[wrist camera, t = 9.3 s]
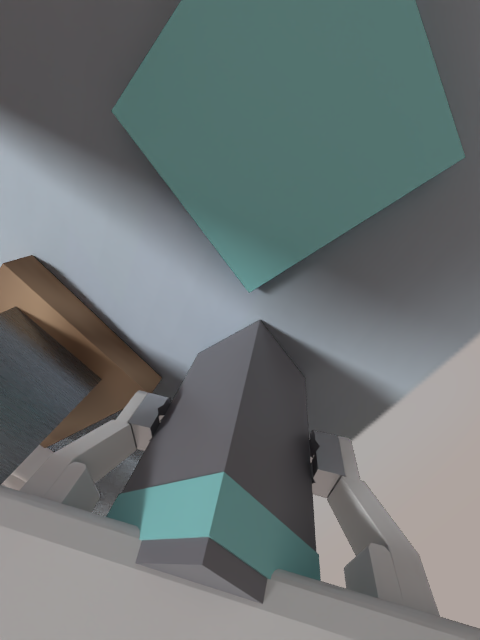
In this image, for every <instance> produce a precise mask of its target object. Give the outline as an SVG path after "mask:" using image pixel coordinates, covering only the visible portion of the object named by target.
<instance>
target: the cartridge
mask: <svg viewBox="0 0 480 640" xmlns="http://www.w3.org/2000/svg"><path fill="white" fill-rule="evenodd" d="M106 517H108V518H112V519H115V520H118V521H122V522H125V523H128V524H132V525H135V526H137V527H138V528H139V530H140V537H139V539H140V540H142V542H141V545H140V548H139V552H138V555H137V559H136V562H135V563H136V564H139V565H142V566H145V567H148V568H152V569H155V570H158V571H161V572H164V573H167V574H170V575H173V576H177V577H180V578H183V579H186V580H189V581H192V582H195V583H198V584H201V585H205V586H208V587H211V588H214V589H217V590H220V591H223V592H226V593H230V594H233V595H236V596H239V597H242V598H245V599H248V600H251V601H254V602H258V603H261V604H263V601H264V595H265V589H266V584H267V579H271V576H272V574H273V572H274V571H275V570H276V569H282V570H285V571H289V572H292V573H295V574H299V575H302V576H305V577H309V578H312V579H315V580H319V581H320V566H319V554H317V553H316V541H315V526H314V510H313V494H312V478H311V462H310V446H309V430H308V415H307V399H306V383H305V377H304V376H303V375H302V374H301V372H300V371H299V370H298V368H297V367H296V366H295V364H294V363H293V362H292V361H291V359H290V358H289V357H288V355H287V354H286V353H285V352H284V350H283V349H282V348H281V346H280V345H279V344H278V342H277V341H276V340H275V339H274V337H273V336H272V335H271V333H270V332H269V331H268V330H267V328H266V327H265V326H264V324H263V323H262V322H261V320H259V321H257V322H255V323H253V324H251V325H249V326H248V327H246V328H244V329H242V330H240V331H238V332H237V333H235V334H233V335H231V336H229V337H227V338H226V339H224V340H222V341H220V342H218V343H216V344H215V345H213V346H211V347H209V348H207V349H205V350H204V351H202V352H200V353H198V355H197V357H196V358H195V360H194V362H193V364H192V366H191V368H190V369H189V371H188V373H187V375H186V377H185V378H184V380H183V382H182V384H181V386H180V388H179V389H178V391H177V393H176V395H175V397H174V399H173V400H172V402H171V404H170V406H169V408H168V410H167V412H166V414H165V415H164V417H163V419H162V420H161V422H160V425H159V426H158V428H157V430H156V432H155V434H154V435H153V437H152V439H151V441H150V442H149V444H148V446H147V448H146V450H145V452H144V453H143V455H142V457H141V459H140V461H139V462H138V464H137V466H136V468H135V470H134V472H133V473H132V475H131V477H130V479H129V481H128V483H127V484H126V486H125V488H124V490H123V492H122V493H121V494H119V495H118V497H117V498H116V500H115V502H114V504H113V506H112V507H111V509H110V511H109V513H108V515H107V516H106Z"/></svg>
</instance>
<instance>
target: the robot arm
mask: <svg viewBox="0 0 480 640" xmlns="http://www.w3.org/2000/svg"><path fill="white" fill-rule="evenodd" d="M170 404H171V398H169V397H165V396H161V395H157V394H153V393H149V392H144V391H140V390H139V391H138V392H136V393H135V394H134V396H133V397H132V398H131V400H130V401H129V403H128V404H127V405H126V407H125V408H124V409H123V411H122V412H121V413H120V415H119V416H118V417H117V419H116V420H111V421H109V422H107V423H105V424H103V425H102V426H100V427H98V428H96V429H95V430H93V431H91V432H89V433H88V434H86V435H84V436H82V437H80V438H79V439H77V440H75V441H73V442H72V443H70V444H68V445H66V446H65V447H63V448H61V449H59V450H57V451H56V452H54V453H52V454H51V455H50V456H49V457H48V459H47V460H46V461H45V462H44V463H43V464H42V465H41V466H40V468H39V469H38V470H37V471H36V472H35V473H34V474H33V475H32V477H31V478H30V479H29V480H28V481H27V482H26V483H25V484H24V486H23V487H22V488H21V489H20V490H19V491H18V490H15V489H12V488H8V487H5V486H2V485H0V640H480V629H479V628H476V627H472V626H469V625H465V624H462V623H459V622H456V621H452V620H449V619H446V618H442V617H440V615H439V612H438V609H437V607H436V604H435V601H434V598H433V595H432V592H431V589H430V586H429V583H428V580H427V577H426V574H425V571H424V568H423V565H422V562H421V559H420V556H419V554H418V553H417V551H416V550H415V549H414V547H413V546H412V545H411V543H410V542H409V541H408V539H407V538H406V537H405V535H404V534H403V533H402V531H401V530H400V529H399V527H398V526H397V525H396V523H395V522H394V521H393V519H392V518H391V517H390V515H389V514H388V513H387V511H386V510H385V509H384V507H383V506H382V505H381V503H380V502H379V500H378V499H377V498H376V496H375V495H374V494H373V493H372V491H371V490H370V488H369V487H368V486H367V484H366V483H365V482H364V481H361V480H360V476H359V472H358V468H357V463H356V460H355V455H354V450H353V447H352V442H351V440H350V438H347V437H342V436H337V435H335V434H330V433H325V432H321V431H316V430H312V431H311V434H310V440H309V446H310V462H311V478H312V494H315V495H318V496H321V497H325V498H328V499H327V500H328V502H329V504H330V506H331V508H332V510H333V512H334V514H335V516H336V518H337V520H338V522H339V524H340V526H341V528H342V530H343V531H344V533H345V535H346V537H347V539H348V541H349V543H350V545H351V547H352V549H353V551H354V553H355V555H356V557H355V558H354V559H353V560H352V561H351V562H349V563H348V564H347V565H346V566H345V568H344V573H345V581H346V588H342V587H339V586H335V585H332V584H329V583H325V582H322V581H319V580H315V579H312V578H309V577H305V576H302V575H299V574H295V573H292V572H289V571H285V570H282V569H276V570H275V571H274V572H273V574H272V576H271V579H267V584H266V589H265V595H264V601H263V604H261V603H258V602H254V601H251V600H248V599H245V598H242V597H239V596H236V595H233V594H230V593H226V592H223V591H220V590H217V589H214V588H211V587H208V586H205V585H201V584H198V583H195V582H192V581H189V580H186V579H183V578H180V577H177V576H173V575H170V574H167V573H164V572H161V571H158V570H155V569H152V568H148V567H145V566H142V565H139V564H136V563H135V562H136V559H137V555H138V552H139V548H140V545H141V542H142V540H140V539H139V537H140V530H139V528H138V527H137V526H135V525H132V524H128V523H125V522H122V521H118V520H115V519H112V518H108V517H105V516H102V515H98V514H95V513H92V511H93V509H94V507H95V506H96V504H97V502H98V501H99V499H100V493H99V491H98V489H97V487H96V485H95V483H97V482H98V481H99V480H100V479H101V478H103V477H104V476H105V475H106V474H108V473H109V472H110V471H111V470H113V469H114V468H115V467H116V466H118V465H119V464H120V463H121V462H123V461H124V460H125V459H126V458H127V457H129V456H130V455H131V454H132V453H134V452H135V451H136V449H139V450H144V451H145V450H146V448H147V446H148V444H149V442H150V441H151V439H152V437H153V435H154V434H155V432H156V430H157V428H158V426H159V425H160V422H161V420H162V419H163V417H164V415H165V414H166V412H167V410H168V408H169V406H170Z"/></svg>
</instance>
